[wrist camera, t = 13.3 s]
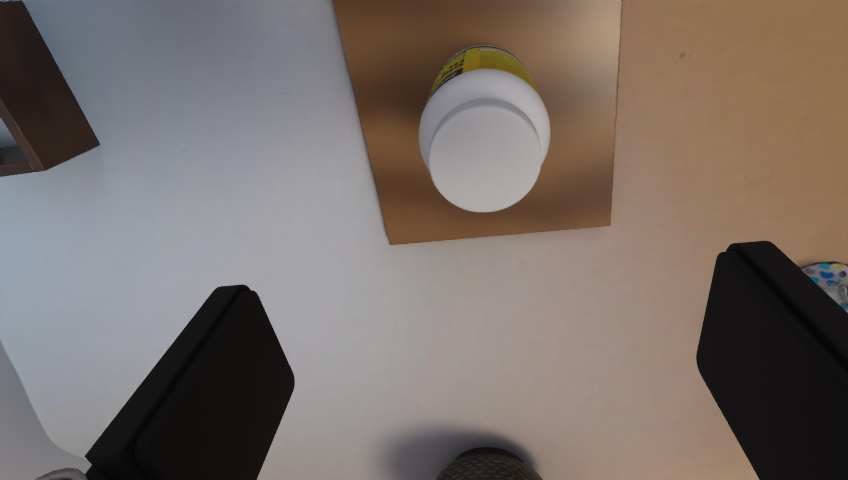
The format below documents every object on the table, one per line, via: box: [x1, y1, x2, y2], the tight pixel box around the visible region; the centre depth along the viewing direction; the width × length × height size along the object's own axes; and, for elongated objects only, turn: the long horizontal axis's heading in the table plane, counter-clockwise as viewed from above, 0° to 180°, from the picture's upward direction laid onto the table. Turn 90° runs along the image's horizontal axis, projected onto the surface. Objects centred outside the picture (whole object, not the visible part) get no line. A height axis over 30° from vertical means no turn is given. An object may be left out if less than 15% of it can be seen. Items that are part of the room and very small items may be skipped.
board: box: [333, 0, 623, 245], centre depth 28 cm, size 20×16×1 cm
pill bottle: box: [419, 45, 550, 212], centre depth 23 cm, size 6×6×11 cm
